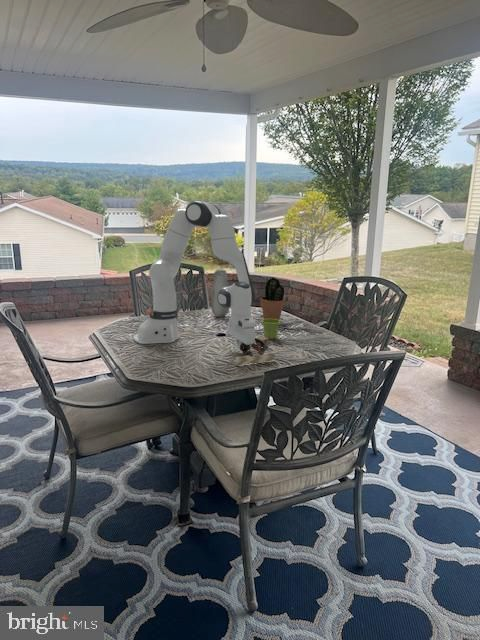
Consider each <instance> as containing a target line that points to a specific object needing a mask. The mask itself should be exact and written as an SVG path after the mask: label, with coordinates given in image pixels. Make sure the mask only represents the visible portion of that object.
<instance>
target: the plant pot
mask: <svg viewBox="0 0 480 640" xmlns="http://www.w3.org/2000/svg"><path fill="white" fill-rule="evenodd" d="M261 323H262V326H263V334H264V335H263V337H265V338H268V340H270V339H271V340H272V339H274V338H275V339H277V337H278V331H279V326H280V323H281V320H277V319H264V318H263V319H262V320H261Z"/></svg>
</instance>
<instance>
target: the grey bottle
mask: <svg viewBox="0 0 480 640" xmlns="http://www.w3.org/2000/svg"><path fill="white" fill-rule="evenodd" d="M229 286H230V285H229V282H228V272H227V270H225V269H221V268H220V269H216V270H215V271H214V273H213V282H212V286H211V291H210V293H211V312H212V314H213V316H215V317H218V318H223V317H226V316H227V315H228V313H229V310H230V308H223V307H221V306H220V304H219V303H218V299H217V296H218V292H219V290H220V289H221V288H224V287H229Z"/></svg>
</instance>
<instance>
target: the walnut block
mask: <svg viewBox="0 0 480 640" xmlns="http://www.w3.org/2000/svg"><path fill="white" fill-rule="evenodd" d="M256 338H257V339H260V340H261V341H262V342H263V343H264V344H265V346H267V347H268V346H269V339H268V338H265V337H264V336H260V337H256ZM255 344H256V345H257V346H260V347H261V344H260V343H255Z"/></svg>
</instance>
